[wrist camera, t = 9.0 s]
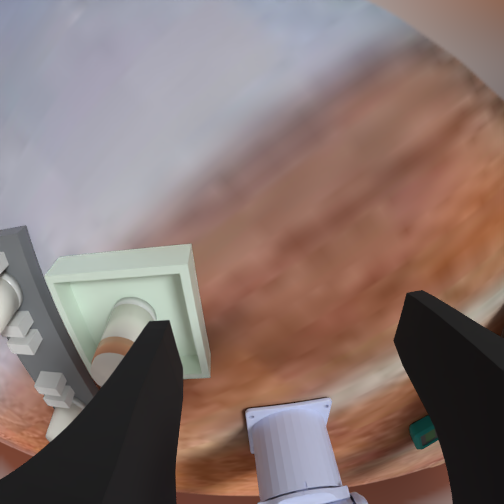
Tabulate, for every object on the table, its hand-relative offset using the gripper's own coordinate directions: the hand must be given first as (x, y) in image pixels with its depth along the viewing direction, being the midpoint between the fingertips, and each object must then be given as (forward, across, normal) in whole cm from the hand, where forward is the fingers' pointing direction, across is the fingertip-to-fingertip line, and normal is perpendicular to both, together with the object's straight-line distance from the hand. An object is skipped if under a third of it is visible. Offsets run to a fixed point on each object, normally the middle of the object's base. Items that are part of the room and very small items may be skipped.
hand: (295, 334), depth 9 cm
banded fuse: (+9, +8, +6) cm, 14 cm away
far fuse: (+9, +18, +16) cm, 26 cm away
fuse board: (+10, +18, +10) cm, 23 cm away
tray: (+10, +8, +6) cm, 14 cm away
